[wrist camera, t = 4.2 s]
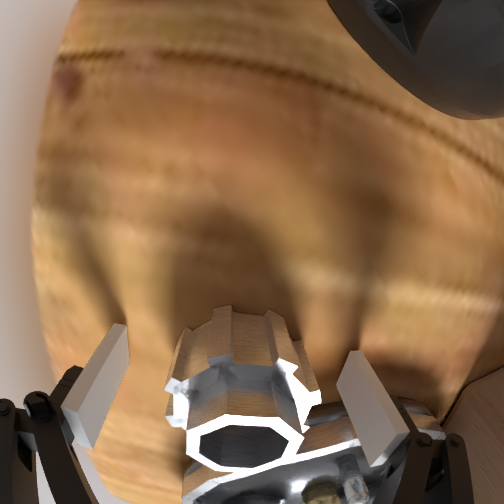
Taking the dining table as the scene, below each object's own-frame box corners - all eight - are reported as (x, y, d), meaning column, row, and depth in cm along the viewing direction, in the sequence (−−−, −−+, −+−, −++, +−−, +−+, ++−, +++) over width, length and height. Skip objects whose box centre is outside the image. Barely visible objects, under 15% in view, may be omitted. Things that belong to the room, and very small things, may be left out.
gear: (180, 297, 13) (149, 379, 8) (315, 313, 14) (355, 394, 8) (177, 393, 15) (161, 473, 10) (285, 403, 16) (301, 481, 10)
